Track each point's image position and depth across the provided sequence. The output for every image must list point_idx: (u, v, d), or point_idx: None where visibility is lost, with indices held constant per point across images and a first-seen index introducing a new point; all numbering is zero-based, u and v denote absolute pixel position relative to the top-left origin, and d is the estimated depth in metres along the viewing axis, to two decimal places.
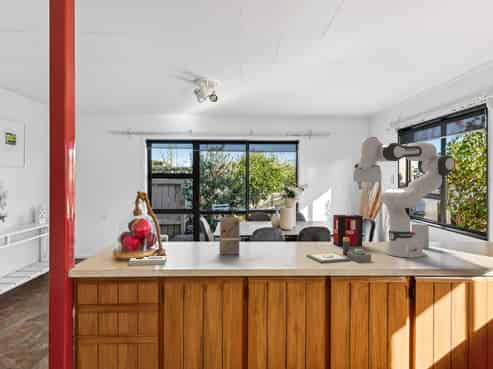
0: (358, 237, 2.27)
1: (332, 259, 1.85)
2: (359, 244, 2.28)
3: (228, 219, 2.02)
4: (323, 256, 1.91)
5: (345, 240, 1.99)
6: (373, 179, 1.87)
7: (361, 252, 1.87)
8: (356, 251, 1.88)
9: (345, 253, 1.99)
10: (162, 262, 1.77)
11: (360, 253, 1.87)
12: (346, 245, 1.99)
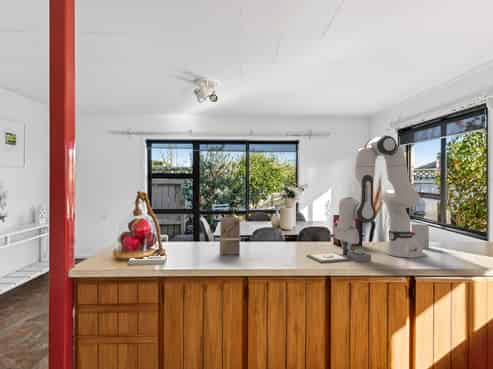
0: None
1: (332, 259, 1.85)
2: (359, 244, 2.28)
3: (228, 219, 2.02)
4: (323, 256, 1.91)
5: None
6: (352, 241, 1.92)
7: (361, 252, 1.87)
8: (356, 251, 1.88)
9: (345, 253, 1.99)
10: (161, 262, 1.78)
11: (360, 253, 1.87)
12: (346, 245, 1.99)
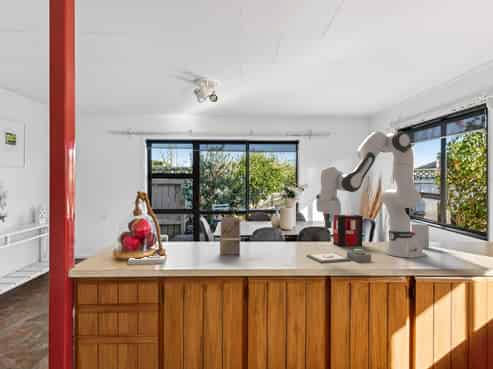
0: (358, 237, 2.27)
1: (332, 259, 1.85)
2: (359, 244, 2.28)
3: (229, 219, 2.02)
4: (323, 256, 1.91)
5: None
6: (333, 212, 1.83)
7: (361, 252, 1.87)
8: (356, 251, 1.88)
9: (327, 226, 1.90)
10: (161, 261, 1.79)
11: (360, 253, 1.87)
12: (328, 217, 1.89)
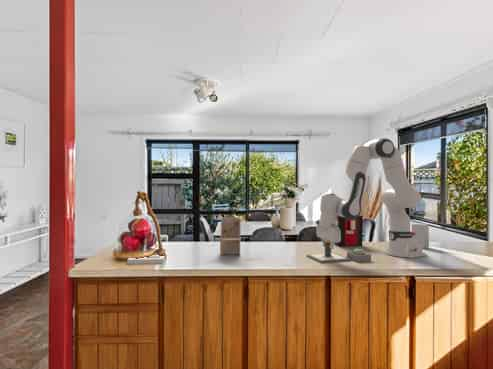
0: (358, 237, 2.27)
1: (332, 259, 1.85)
2: (359, 244, 2.28)
3: (229, 219, 2.02)
4: (323, 256, 1.91)
5: (327, 241, 1.90)
6: (333, 240, 1.83)
7: (361, 252, 1.87)
8: (356, 251, 1.88)
9: (327, 254, 1.90)
10: (160, 261, 1.79)
11: (360, 253, 1.87)
12: (328, 246, 1.90)
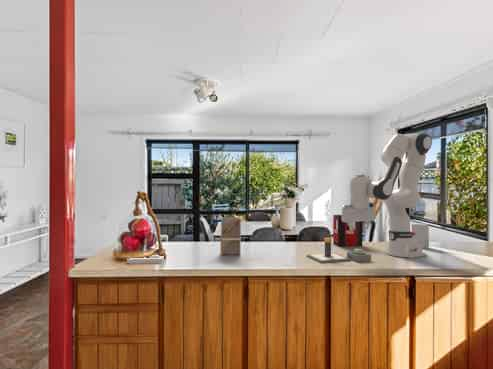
0: (358, 237, 2.27)
1: (332, 259, 1.85)
2: (359, 244, 2.28)
3: (229, 219, 2.02)
4: (323, 256, 1.91)
5: (327, 240, 1.90)
6: None
7: (361, 252, 1.87)
8: (356, 251, 1.88)
9: (327, 254, 1.90)
10: (159, 261, 1.80)
11: (360, 253, 1.87)
12: (328, 246, 1.90)
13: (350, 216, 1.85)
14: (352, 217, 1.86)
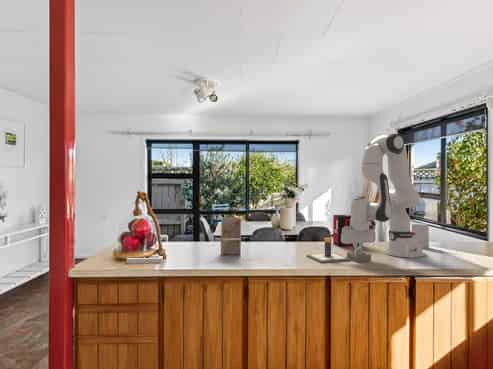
0: None
1: (332, 259, 1.85)
2: (359, 244, 2.28)
3: (229, 219, 2.02)
4: (323, 256, 1.91)
5: (327, 240, 1.90)
6: None
7: (361, 253, 1.87)
8: (356, 252, 1.88)
9: (327, 254, 1.90)
10: (158, 261, 1.80)
11: (360, 254, 1.87)
12: (328, 246, 1.90)
13: (349, 237, 1.86)
14: (351, 238, 1.86)
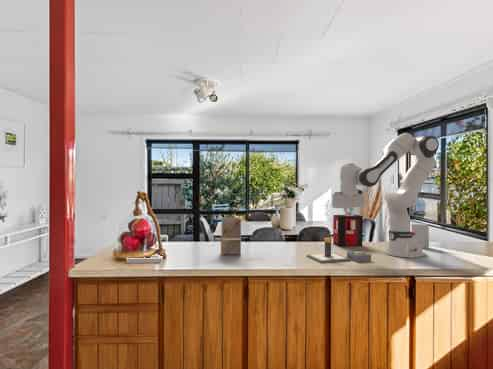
0: (358, 237, 2.27)
1: (332, 259, 1.85)
2: (359, 244, 2.28)
3: (229, 219, 2.02)
4: (323, 256, 1.91)
5: (327, 240, 1.90)
6: None
7: None
8: (356, 254, 1.88)
9: (327, 254, 1.90)
10: (158, 261, 1.80)
11: None
12: (328, 246, 1.90)
13: (340, 202, 1.96)
14: (342, 203, 1.97)
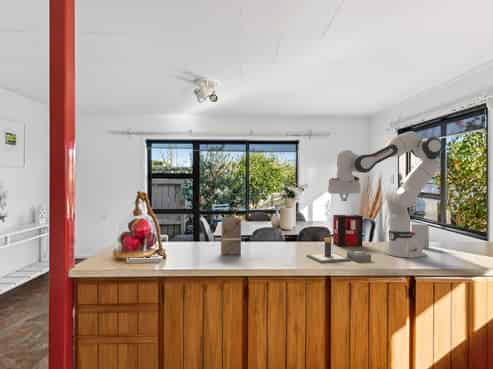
0: (358, 237, 2.27)
1: (332, 259, 1.85)
2: (359, 244, 2.28)
3: (229, 219, 2.02)
4: (323, 256, 1.91)
5: (327, 240, 1.90)
6: None
7: None
8: (356, 254, 1.88)
9: (327, 254, 1.90)
10: (158, 260, 1.81)
11: None
12: (328, 246, 1.90)
13: (336, 187, 2.01)
14: (338, 189, 2.01)
